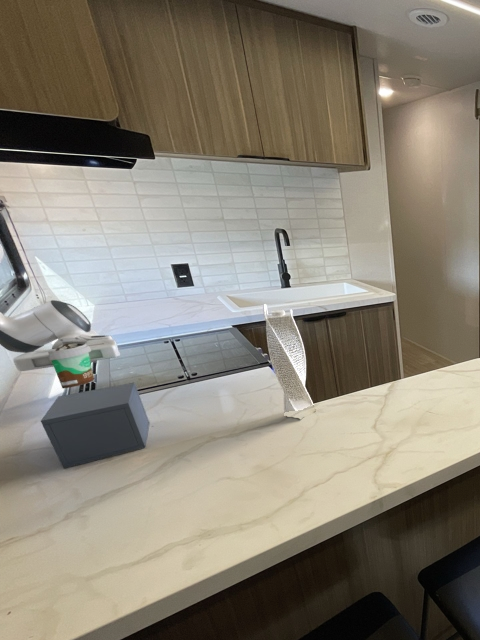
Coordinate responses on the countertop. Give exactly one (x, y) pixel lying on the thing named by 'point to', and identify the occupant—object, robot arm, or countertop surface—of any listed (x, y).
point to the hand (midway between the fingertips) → (64, 362)
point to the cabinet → (96, 424)
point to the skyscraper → (287, 358)
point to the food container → (72, 364)
